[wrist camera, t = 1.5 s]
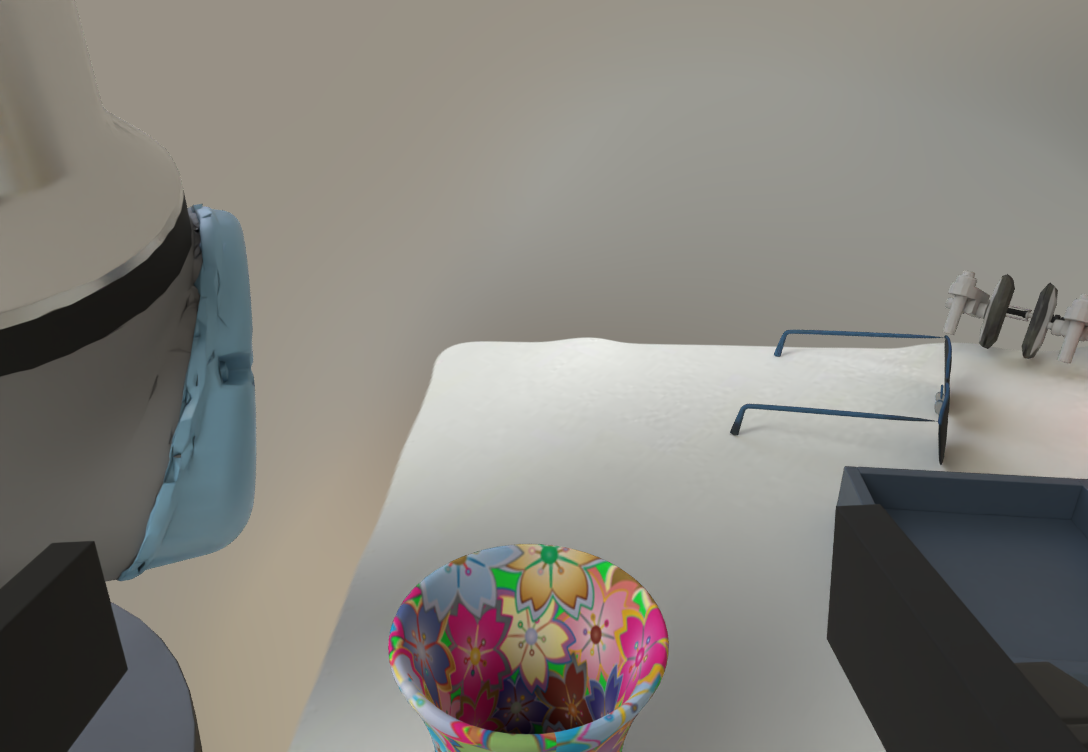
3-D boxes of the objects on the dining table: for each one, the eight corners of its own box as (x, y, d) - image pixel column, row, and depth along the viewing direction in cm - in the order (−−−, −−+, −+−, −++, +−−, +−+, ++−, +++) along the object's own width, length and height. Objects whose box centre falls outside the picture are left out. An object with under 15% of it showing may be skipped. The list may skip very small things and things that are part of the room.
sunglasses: (943, 482, 55) (949, 416, 53) (729, 457, 61) (728, 398, 60) (949, 384, 69) (953, 329, 67) (774, 373, 76) (774, 322, 74)
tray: (919, 720, 37) (935, 662, 35) (835, 512, 52) (844, 465, 50) (1261, 748, 35) (1293, 689, 34) (1073, 526, 50) (1090, 479, 49)
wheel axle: (942, 257, 73) (984, 286, 89) (918, 329, 74) (963, 345, 90) (1119, 291, 65) (1130, 316, 80) (1089, 372, 66) (1106, 381, 81)
